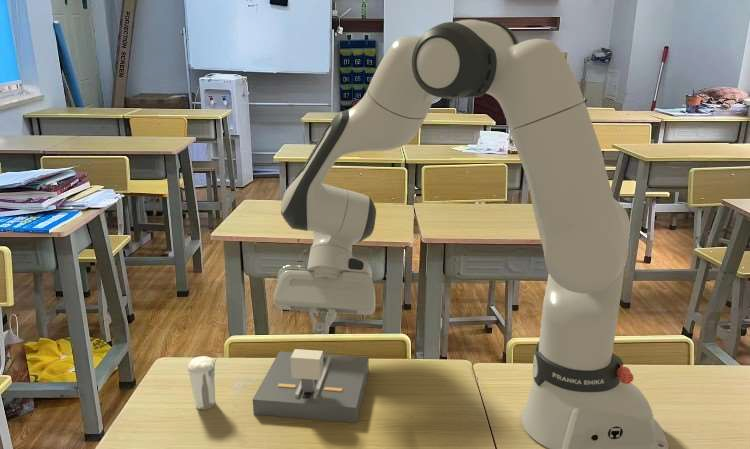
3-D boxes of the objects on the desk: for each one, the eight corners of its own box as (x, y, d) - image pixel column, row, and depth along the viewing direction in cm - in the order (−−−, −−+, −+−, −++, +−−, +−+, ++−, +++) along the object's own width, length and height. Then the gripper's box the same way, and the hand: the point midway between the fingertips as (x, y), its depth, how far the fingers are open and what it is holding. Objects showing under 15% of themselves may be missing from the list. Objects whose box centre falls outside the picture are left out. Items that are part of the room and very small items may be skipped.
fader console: (368, 370, 108) (368, 354, 107) (356, 422, 92) (355, 404, 91) (280, 364, 110) (279, 348, 109) (253, 414, 95) (252, 396, 93)
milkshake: (215, 414, 94) (210, 364, 91) (187, 410, 95) (181, 360, 92) (227, 399, 99) (222, 350, 96) (200, 395, 100) (195, 347, 97)
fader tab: (323, 385, 97) (323, 350, 95) (320, 395, 94) (319, 359, 92) (296, 383, 97) (294, 349, 95) (292, 392, 95) (290, 357, 92)
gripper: (276, 258, 110) (263, 324, 104) (377, 263, 108) (370, 331, 101) (283, 270, 116) (271, 334, 109) (379, 275, 113) (373, 340, 107)
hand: (320, 332), depth 105 cm, fingers closed
